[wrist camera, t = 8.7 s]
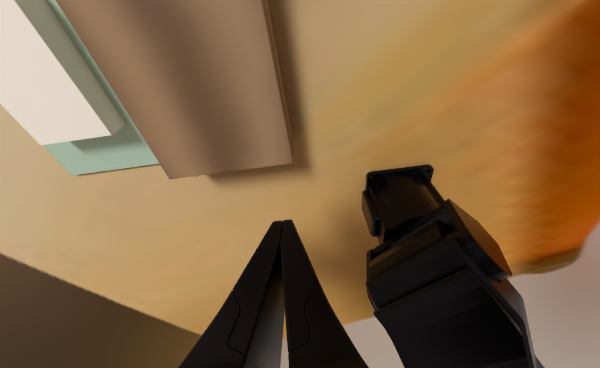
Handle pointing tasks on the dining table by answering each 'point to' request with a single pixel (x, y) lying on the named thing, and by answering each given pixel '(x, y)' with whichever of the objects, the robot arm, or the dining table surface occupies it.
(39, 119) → the white block
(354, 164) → the dining table surface
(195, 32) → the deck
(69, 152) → the mat
